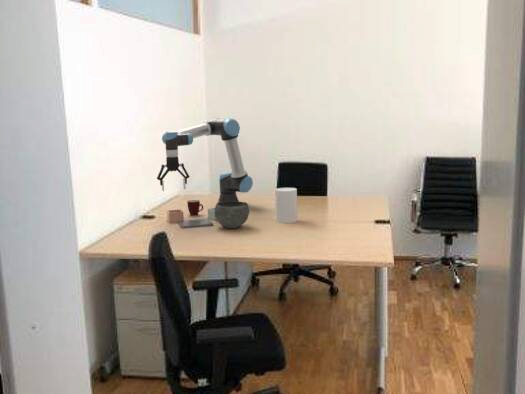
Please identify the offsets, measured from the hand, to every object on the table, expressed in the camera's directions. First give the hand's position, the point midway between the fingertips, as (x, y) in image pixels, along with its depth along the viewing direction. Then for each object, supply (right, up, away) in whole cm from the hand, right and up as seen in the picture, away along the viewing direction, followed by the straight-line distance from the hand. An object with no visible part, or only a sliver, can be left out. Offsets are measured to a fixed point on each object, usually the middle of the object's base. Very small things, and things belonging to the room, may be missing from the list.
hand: (173, 189), depth 367 cm
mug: (+11, -17, +22) cm, 30 cm away
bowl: (+38, -23, -15) cm, 47 cm away
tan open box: (+1, -20, +4) cm, 21 cm away
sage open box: (+26, -19, +8) cm, 33 cm away
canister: (+71, -20, 0) cm, 74 cm away
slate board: (+14, -22, -4) cm, 26 cm away
